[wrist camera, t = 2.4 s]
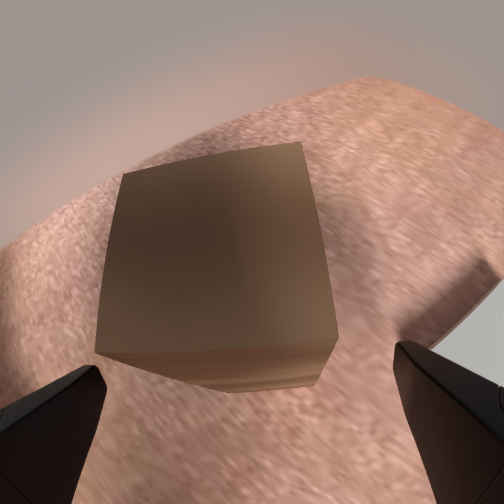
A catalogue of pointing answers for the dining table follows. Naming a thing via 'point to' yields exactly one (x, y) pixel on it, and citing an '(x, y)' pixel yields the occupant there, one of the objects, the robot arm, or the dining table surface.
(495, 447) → the robot arm
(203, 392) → the dining table surface
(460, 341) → the grey block
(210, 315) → the walnut block
